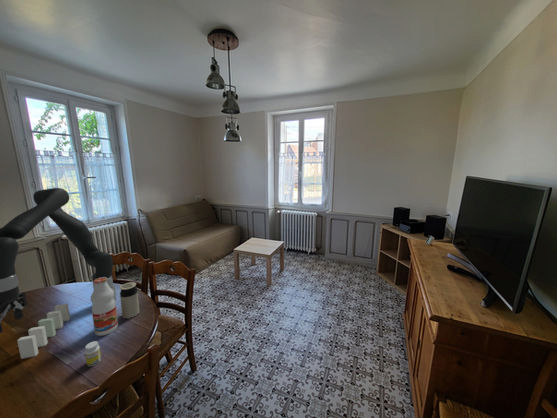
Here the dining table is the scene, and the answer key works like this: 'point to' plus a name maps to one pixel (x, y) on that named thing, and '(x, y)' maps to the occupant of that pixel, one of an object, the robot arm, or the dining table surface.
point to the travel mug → (129, 300)
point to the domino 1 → (27, 346)
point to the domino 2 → (39, 335)
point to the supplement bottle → (92, 353)
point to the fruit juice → (103, 308)
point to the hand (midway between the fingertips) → (9, 325)
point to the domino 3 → (48, 326)
